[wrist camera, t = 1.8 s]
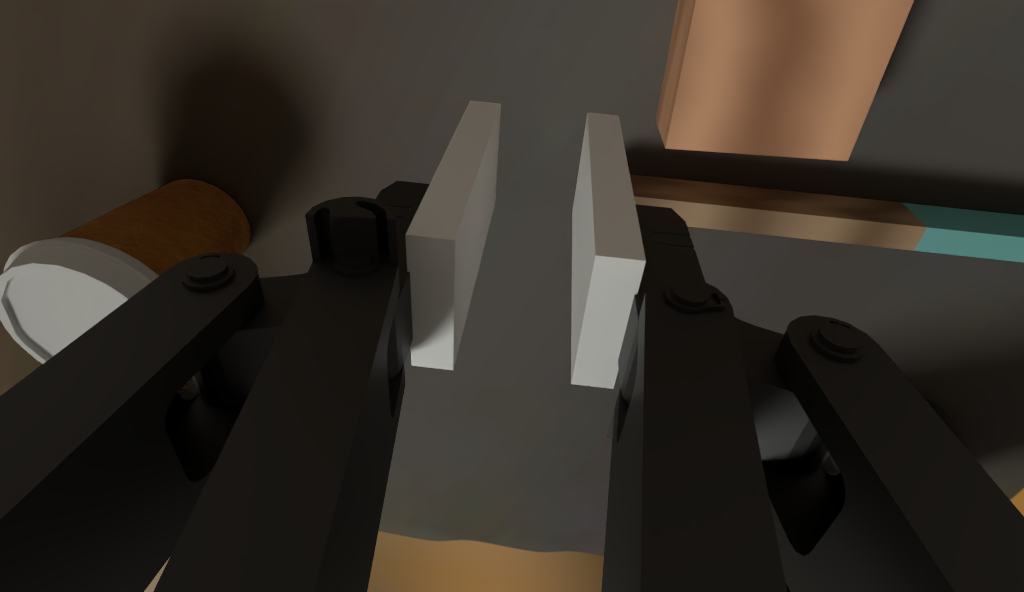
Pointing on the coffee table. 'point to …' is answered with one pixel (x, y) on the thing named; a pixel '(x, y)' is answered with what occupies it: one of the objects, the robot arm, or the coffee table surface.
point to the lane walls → (783, 212)
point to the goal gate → (970, 232)
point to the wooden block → (775, 74)
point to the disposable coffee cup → (112, 261)
